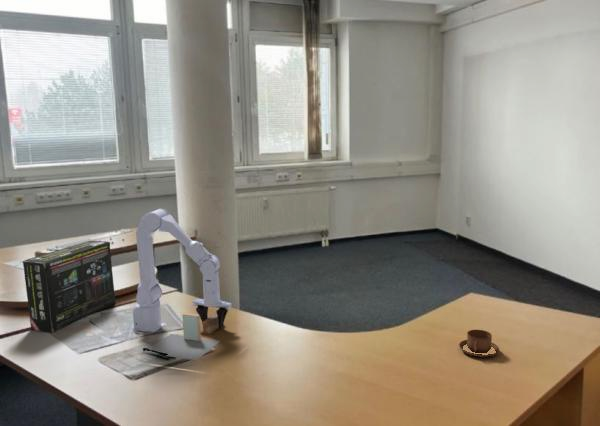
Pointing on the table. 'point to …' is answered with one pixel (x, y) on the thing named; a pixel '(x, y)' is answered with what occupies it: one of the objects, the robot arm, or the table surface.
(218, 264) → the robot arm
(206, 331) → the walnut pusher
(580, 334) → the table surface
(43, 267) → the router box
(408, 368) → the table surface
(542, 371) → the table surface
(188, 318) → the tile
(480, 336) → the cup and saucer
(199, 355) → the mat
